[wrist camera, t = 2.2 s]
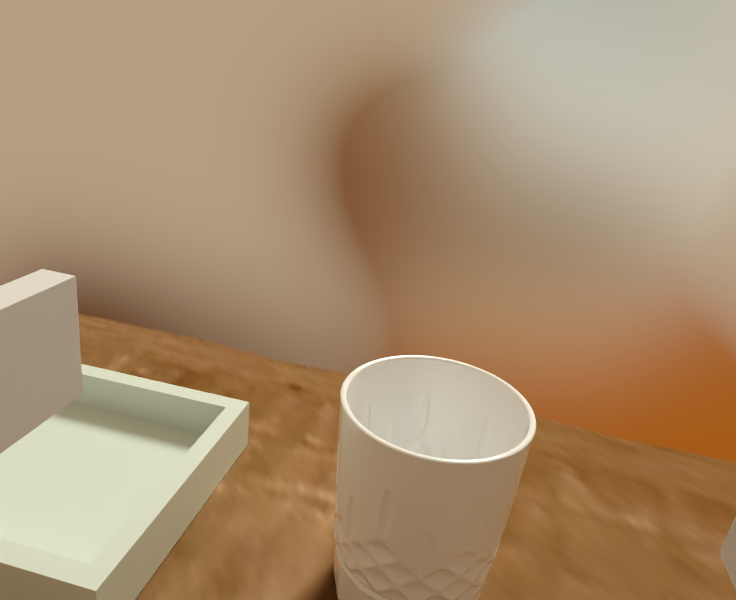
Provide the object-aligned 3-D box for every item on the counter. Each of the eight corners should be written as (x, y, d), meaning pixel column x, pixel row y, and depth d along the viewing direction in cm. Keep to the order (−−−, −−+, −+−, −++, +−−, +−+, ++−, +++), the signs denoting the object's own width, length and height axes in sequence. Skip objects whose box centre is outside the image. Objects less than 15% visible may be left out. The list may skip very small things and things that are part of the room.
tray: (247, 444, 36) (249, 402, 35) (100, 647, 23) (95, 591, 22) (-8, 382, 39) (-14, 342, 38) (-260, 532, 26) (-281, 477, 25)
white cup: (286, 602, 26) (301, 409, 22) (371, 500, 33) (394, 338, 29) (452, 700, 23) (502, 494, 19) (510, 566, 29) (556, 392, 26)
